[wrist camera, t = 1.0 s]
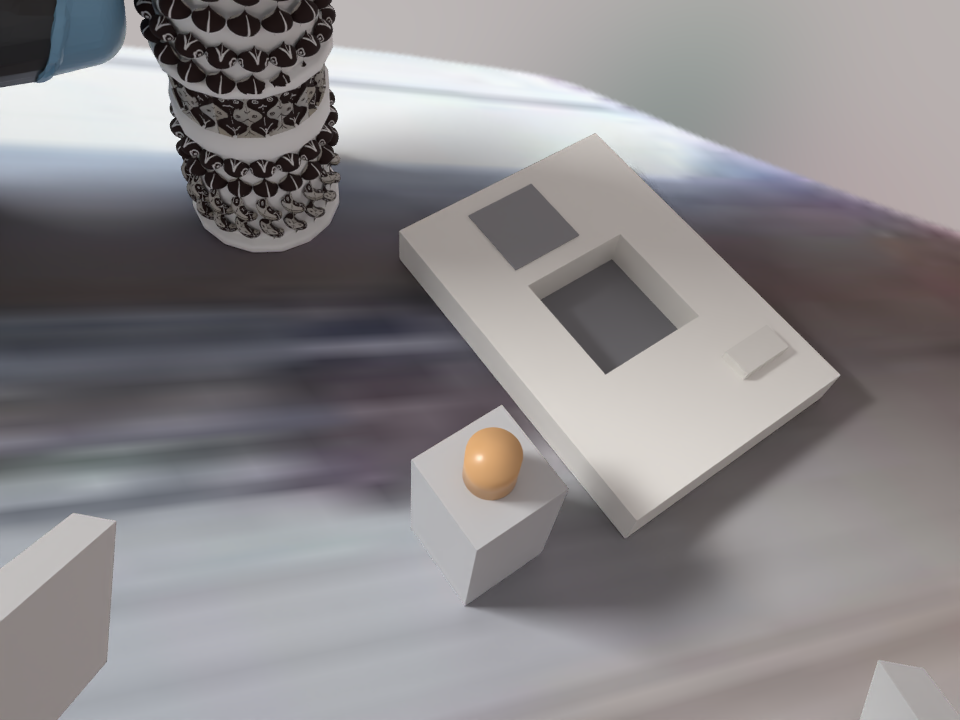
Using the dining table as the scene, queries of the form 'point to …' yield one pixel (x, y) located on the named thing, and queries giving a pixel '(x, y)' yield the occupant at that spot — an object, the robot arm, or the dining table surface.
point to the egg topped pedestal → (483, 503)
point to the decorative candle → (251, 114)
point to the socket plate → (614, 327)
